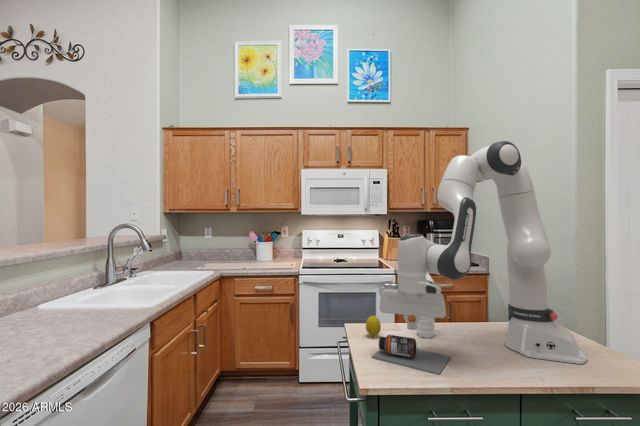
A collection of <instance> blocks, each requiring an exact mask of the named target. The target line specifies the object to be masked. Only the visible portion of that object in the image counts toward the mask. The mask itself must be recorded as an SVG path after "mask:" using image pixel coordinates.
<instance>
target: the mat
mask: <svg viewBox="0 0 640 426" xmlns="http://www.w3.org/2000/svg"><path fill="white" fill-rule="evenodd" d="M371 359H375V360H378V361H379V360H380V361H383V362H387V363H390V364H395V365H398V366H402V367H406V368H410V369H411V368H412V369H415V370H418V371H422V372H427V373H431V374H435V375H439V376H440V375H441V374H442V372H443V371H444V369H445V367H446V366H447V364H448V362H449V360H450V359H451V355H447V354H444V353H443V354H442V353H439V352H434V351H429V350H424V349H419V348H416V356H415V358H408V357H403V356H397V355H391V354H387V353H386V351H385V350H381V349H378V350H377V351H376V352H375V353H374V354H372V355H371Z"/></svg>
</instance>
